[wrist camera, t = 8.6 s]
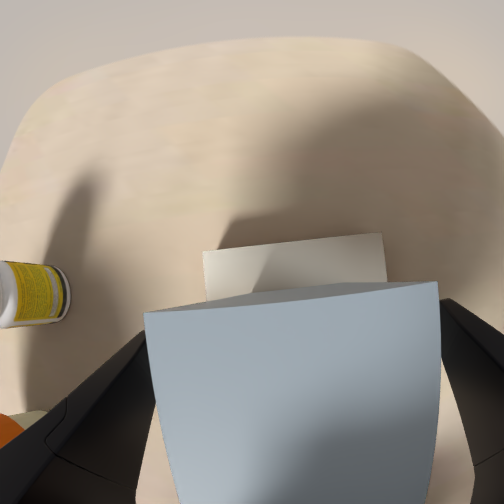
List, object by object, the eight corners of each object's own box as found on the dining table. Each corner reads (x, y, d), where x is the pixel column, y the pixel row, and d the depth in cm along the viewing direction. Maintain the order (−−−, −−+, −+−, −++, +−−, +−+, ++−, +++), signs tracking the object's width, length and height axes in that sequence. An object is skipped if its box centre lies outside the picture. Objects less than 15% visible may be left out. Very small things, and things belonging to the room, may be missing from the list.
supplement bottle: (59, 254, 22) (-20, 242, 14) (80, 305, 21) (-3, 310, 13) (29, 284, 23) (-45, 280, 14) (48, 332, 22) (-29, 342, 14)
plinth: (381, 392, 18) (391, 405, 15) (229, 405, 19) (220, 420, 17) (371, 238, 19) (381, 231, 16) (214, 255, 20) (202, 251, 18)
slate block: (350, 372, 16) (422, 512, 4) (260, 381, 16) (187, 528, 5) (343, 282, 16) (437, 280, 4) (251, 292, 17) (143, 313, 5)
